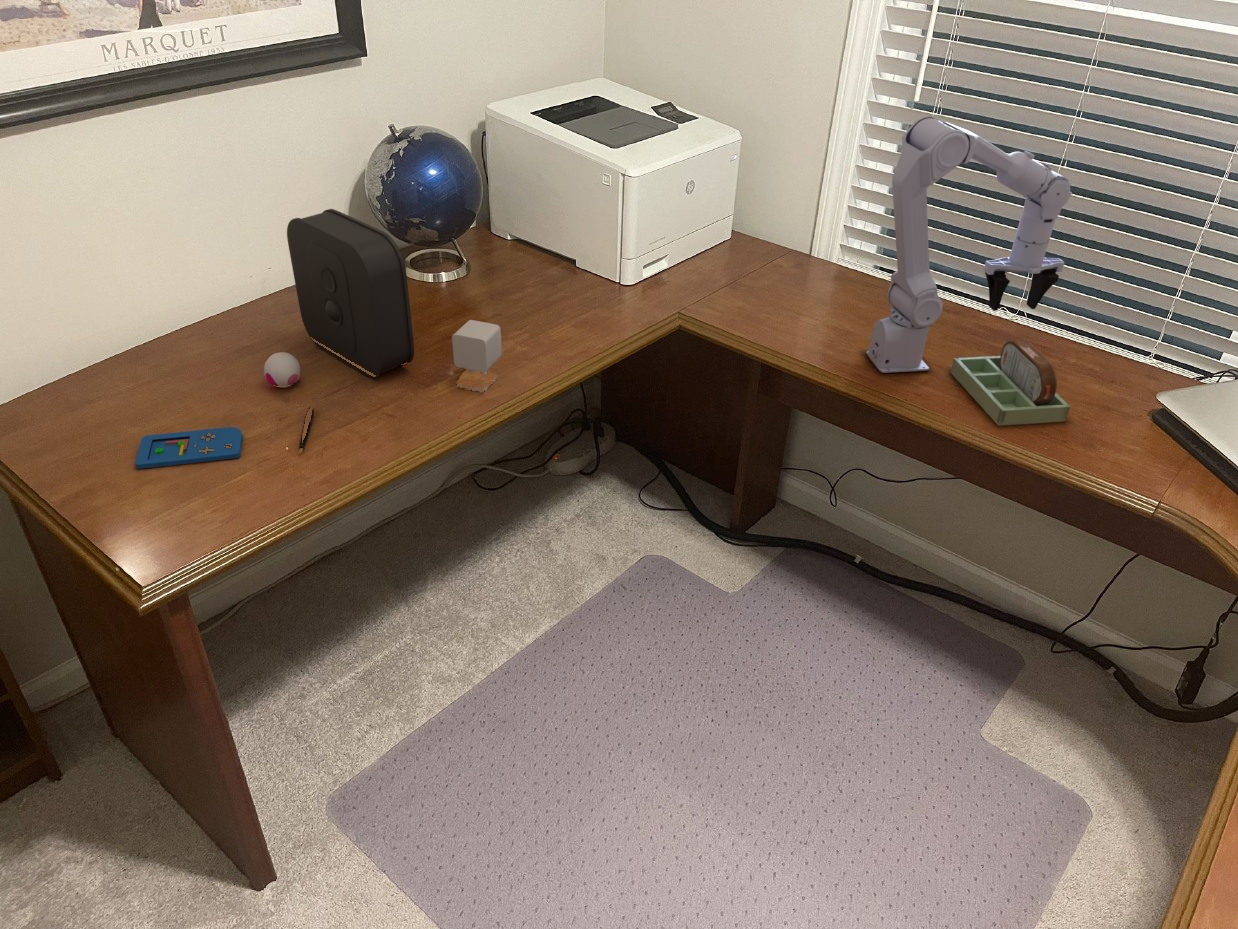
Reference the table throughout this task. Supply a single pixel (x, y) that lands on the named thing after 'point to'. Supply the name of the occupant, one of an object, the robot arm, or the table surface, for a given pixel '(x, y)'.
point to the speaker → (352, 290)
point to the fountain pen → (302, 445)
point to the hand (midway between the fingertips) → (1011, 307)
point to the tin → (1029, 371)
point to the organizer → (1003, 393)
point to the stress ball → (282, 369)
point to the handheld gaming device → (188, 447)
